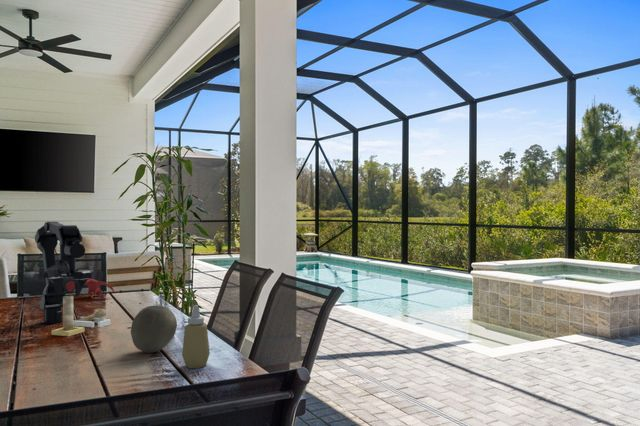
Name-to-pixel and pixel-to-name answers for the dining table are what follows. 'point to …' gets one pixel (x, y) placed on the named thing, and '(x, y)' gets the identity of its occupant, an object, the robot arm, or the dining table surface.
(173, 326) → the grey egg-shaped stone
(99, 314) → the figurine
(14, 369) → the dining table surface
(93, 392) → the dining table surface
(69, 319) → the post
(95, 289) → the red toy dinosaur
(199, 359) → the squeeze bottle
